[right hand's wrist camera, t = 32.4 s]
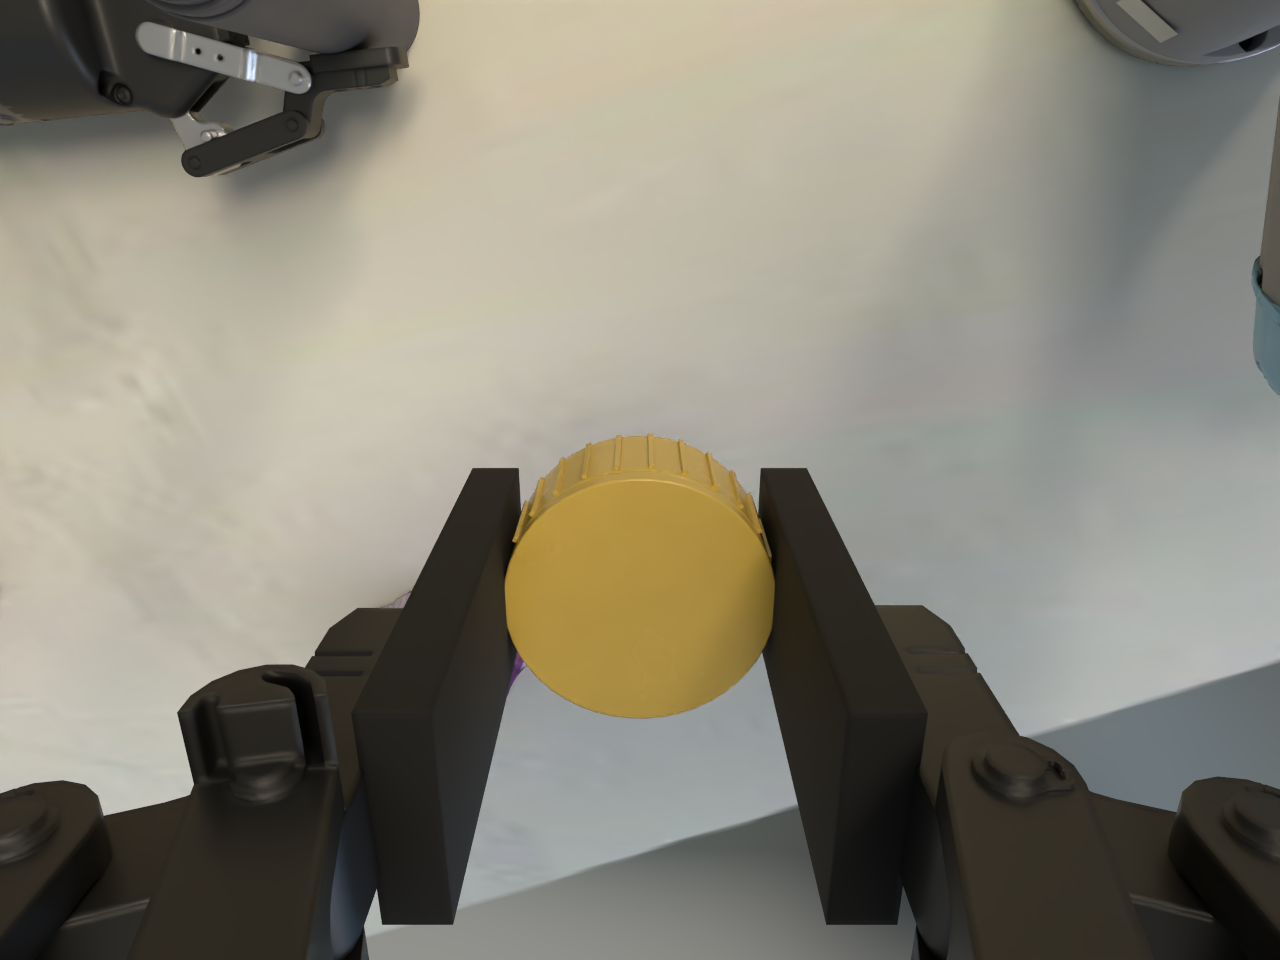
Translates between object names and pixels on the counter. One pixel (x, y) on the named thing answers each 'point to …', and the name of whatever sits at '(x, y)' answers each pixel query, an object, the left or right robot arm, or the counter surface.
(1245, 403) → the counter surface
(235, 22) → the bottle
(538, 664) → the cap
